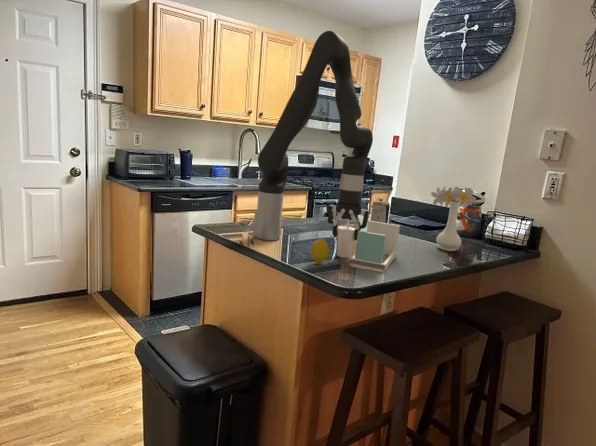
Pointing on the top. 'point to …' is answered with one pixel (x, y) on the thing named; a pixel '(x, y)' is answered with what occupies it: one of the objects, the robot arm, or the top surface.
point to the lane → (389, 247)
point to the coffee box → (380, 212)
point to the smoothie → (345, 240)
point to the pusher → (370, 246)
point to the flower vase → (452, 214)
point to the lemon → (320, 251)
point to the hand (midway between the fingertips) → (345, 238)
